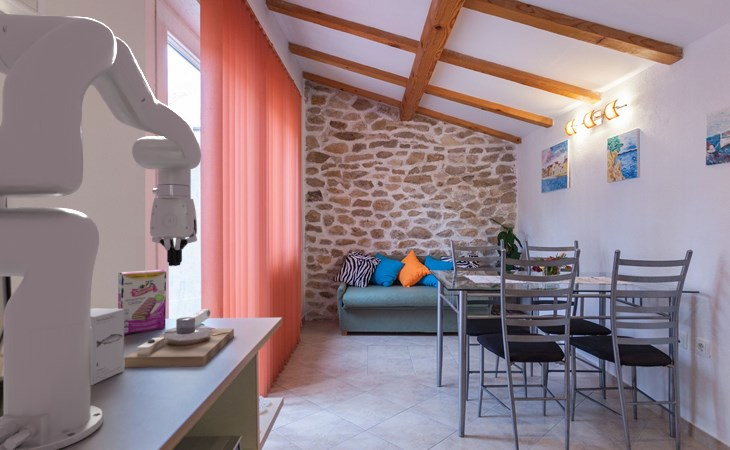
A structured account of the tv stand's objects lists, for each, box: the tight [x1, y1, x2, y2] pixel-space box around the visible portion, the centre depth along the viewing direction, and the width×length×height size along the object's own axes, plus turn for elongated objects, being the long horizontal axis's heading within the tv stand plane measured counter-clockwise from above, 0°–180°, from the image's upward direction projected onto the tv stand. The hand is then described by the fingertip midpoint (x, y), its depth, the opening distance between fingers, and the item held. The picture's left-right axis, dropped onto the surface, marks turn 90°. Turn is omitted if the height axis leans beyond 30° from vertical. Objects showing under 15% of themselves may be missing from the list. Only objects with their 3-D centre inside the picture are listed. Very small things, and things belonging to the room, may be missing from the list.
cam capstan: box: [163, 308, 211, 345], centre depth 98 cm, size 18×10×5 cm, turn 3°
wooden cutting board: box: [124, 328, 235, 368], centre depth 93 cm, size 22×16×4 cm
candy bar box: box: [117, 269, 167, 336], centre depth 110 cm, size 11×5×16 cm, turn 133°
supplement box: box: [90, 307, 125, 386], centre depth 76 cm, size 7×7×13 cm
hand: (174, 265), depth 100 cm, fingers closed
